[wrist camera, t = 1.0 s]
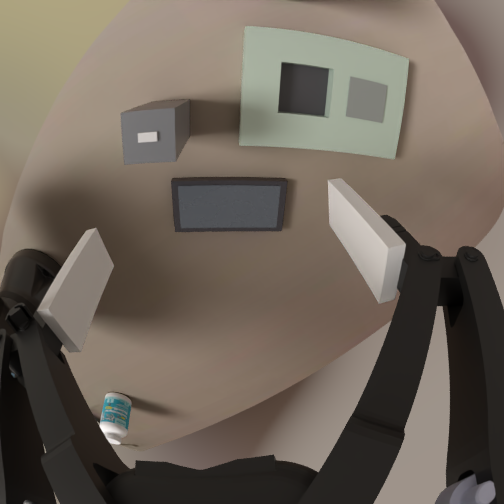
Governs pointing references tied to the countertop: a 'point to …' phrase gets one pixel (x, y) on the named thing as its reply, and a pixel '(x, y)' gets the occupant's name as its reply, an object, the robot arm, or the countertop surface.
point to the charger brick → (155, 131)
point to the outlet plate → (320, 93)
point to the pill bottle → (115, 417)
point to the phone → (228, 203)
